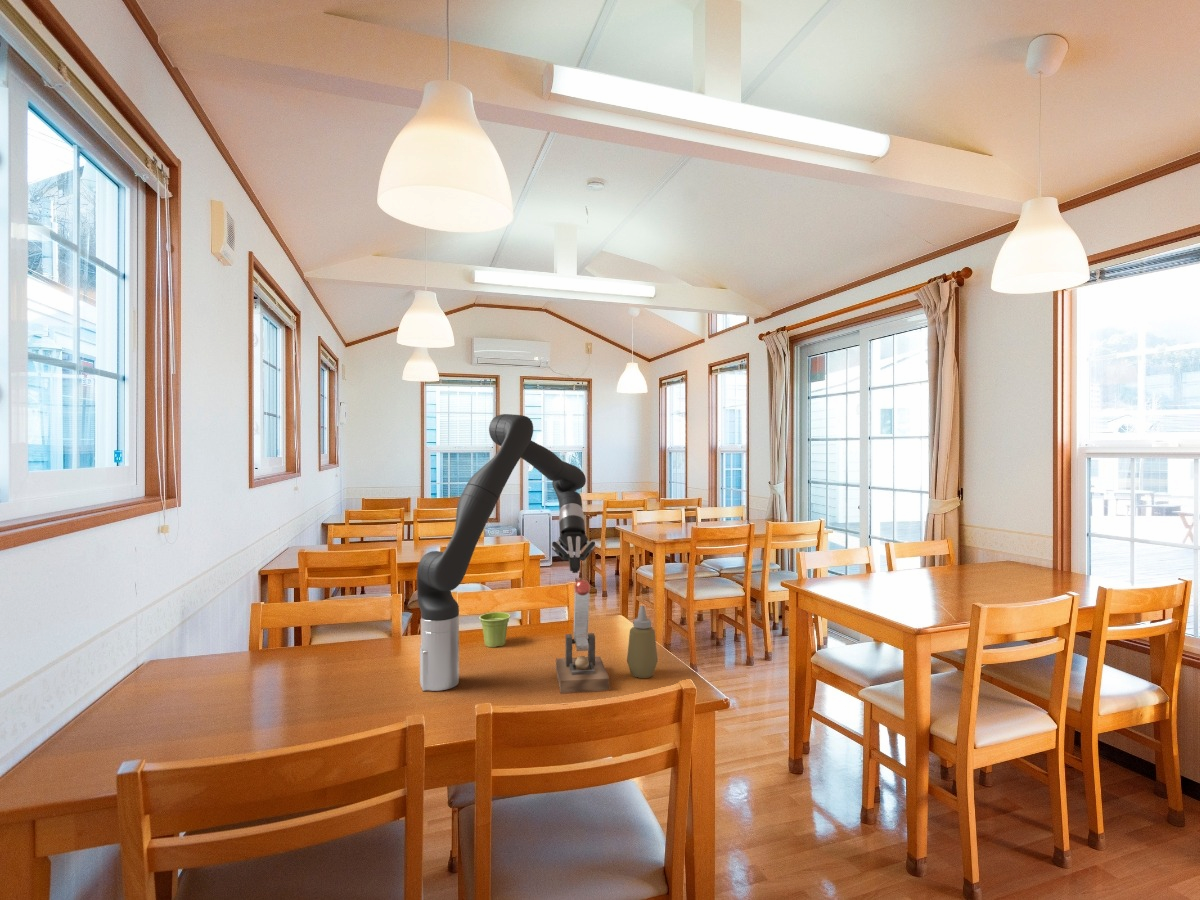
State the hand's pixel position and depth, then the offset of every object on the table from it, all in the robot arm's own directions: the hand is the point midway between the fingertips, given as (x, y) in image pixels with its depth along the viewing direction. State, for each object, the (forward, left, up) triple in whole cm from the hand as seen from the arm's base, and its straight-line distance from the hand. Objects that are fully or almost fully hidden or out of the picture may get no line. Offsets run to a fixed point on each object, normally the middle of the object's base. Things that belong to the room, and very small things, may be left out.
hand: (575, 571), depth 167 cm
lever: (-2, -11, -16) cm, 19 cm away
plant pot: (-17, +25, -26) cm, 40 cm away
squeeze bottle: (+13, -15, -26) cm, 33 cm away
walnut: (-3, -13, -23) cm, 26 cm away
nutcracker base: (-3, -12, -26) cm, 28 cm away
